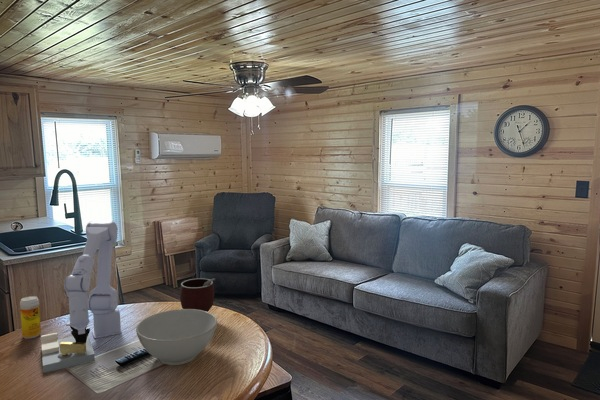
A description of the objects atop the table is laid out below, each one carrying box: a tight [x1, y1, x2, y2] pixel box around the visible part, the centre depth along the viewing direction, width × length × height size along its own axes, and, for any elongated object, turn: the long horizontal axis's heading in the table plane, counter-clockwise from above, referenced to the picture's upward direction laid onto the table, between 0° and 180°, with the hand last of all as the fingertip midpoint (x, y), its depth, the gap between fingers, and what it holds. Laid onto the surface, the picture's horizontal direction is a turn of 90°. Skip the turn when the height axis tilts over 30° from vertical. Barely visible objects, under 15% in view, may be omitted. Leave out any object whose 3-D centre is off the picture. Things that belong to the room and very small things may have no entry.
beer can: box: [19, 295, 42, 340], centre depth 160 cm, size 6×6×15 cm
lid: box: [40, 332, 59, 356], centre depth 145 cm, size 5×8×4 cm, turn 33°
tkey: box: [60, 342, 86, 356], centre depth 140 cm, size 8×2×4 cm, turn 87°
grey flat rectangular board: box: [41, 334, 96, 374], centre depth 146 cm, size 15×19×3 cm
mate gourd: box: [179, 277, 216, 312], centre depth 173 cm, size 16×14×20 cm
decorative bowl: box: [135, 308, 218, 366], centre depth 145 cm, size 27×27×12 cm
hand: (80, 346), depth 145 cm, fingers open, 4 cm apart
